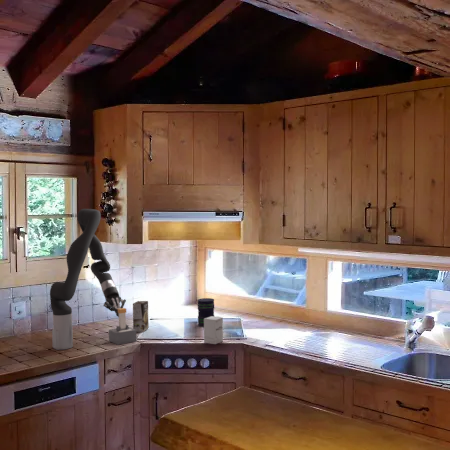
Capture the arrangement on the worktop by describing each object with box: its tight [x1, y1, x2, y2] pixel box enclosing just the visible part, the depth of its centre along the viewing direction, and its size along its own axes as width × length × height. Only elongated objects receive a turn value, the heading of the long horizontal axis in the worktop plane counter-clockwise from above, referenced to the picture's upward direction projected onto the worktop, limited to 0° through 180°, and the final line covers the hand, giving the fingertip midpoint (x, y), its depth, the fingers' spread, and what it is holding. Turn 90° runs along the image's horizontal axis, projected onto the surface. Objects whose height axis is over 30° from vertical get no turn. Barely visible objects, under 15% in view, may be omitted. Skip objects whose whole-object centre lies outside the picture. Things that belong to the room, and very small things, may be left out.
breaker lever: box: [118, 307, 127, 330], centre depth 293 cm, size 3×4×11 cm
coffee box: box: [132, 300, 150, 333], centre depth 317 cm, size 9×6×16 cm
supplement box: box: [203, 315, 224, 345], centre depth 288 cm, size 7×7×13 cm
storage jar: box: [197, 297, 215, 328], centre depth 327 cm, size 10×10×15 cm
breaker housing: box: [108, 324, 138, 346], centre depth 293 cm, size 10×11×8 cm
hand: (120, 316), depth 294 cm, fingers closed
